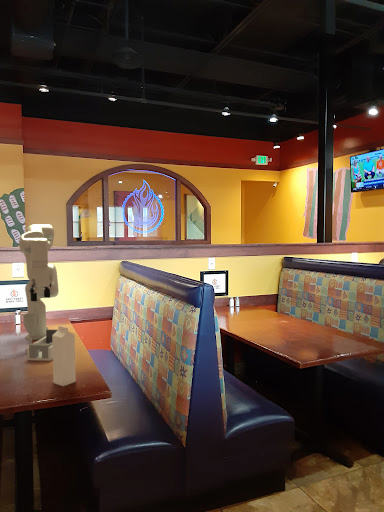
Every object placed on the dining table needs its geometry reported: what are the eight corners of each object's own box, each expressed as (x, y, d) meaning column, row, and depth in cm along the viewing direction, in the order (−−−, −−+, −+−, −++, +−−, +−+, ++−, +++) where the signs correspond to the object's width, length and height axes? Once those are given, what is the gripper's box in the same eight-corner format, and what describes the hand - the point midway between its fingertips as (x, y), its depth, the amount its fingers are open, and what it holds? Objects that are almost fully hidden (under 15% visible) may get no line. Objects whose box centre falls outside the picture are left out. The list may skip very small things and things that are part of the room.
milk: (66, 378, 164) (65, 324, 163) (75, 382, 161) (74, 326, 159) (53, 383, 159) (51, 327, 158) (62, 386, 156) (61, 329, 155)
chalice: (41, 348, 208) (40, 313, 207) (32, 352, 201) (31, 316, 200) (29, 347, 210) (28, 312, 209) (20, 350, 204) (18, 315, 203)
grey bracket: (46, 347, 210) (46, 333, 209) (68, 347, 209) (68, 334, 208) (26, 360, 189) (26, 345, 188) (50, 360, 188) (50, 345, 187)
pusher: (47, 346, 207) (47, 329, 207) (63, 346, 206) (63, 329, 206) (31, 356, 190) (31, 338, 190) (49, 356, 189) (48, 338, 189)
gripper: (44, 262, 208) (45, 296, 209) (20, 266, 192) (21, 302, 193) (57, 263, 206) (58, 296, 207) (34, 266, 189) (35, 303, 191)
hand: (40, 299), depth 200 cm, fingers open, 9 cm apart
